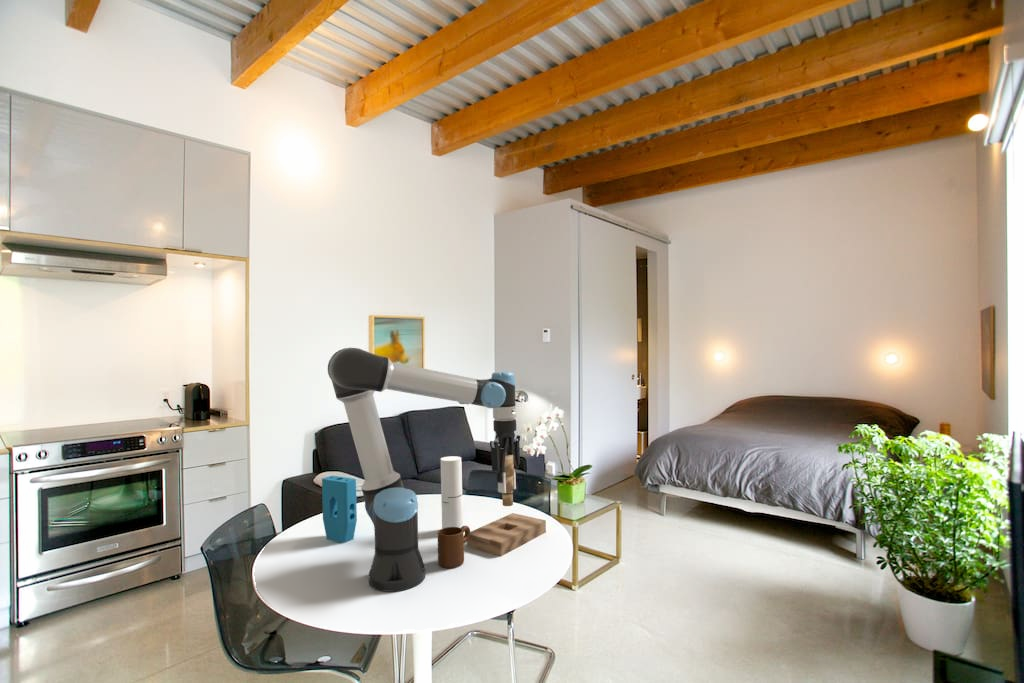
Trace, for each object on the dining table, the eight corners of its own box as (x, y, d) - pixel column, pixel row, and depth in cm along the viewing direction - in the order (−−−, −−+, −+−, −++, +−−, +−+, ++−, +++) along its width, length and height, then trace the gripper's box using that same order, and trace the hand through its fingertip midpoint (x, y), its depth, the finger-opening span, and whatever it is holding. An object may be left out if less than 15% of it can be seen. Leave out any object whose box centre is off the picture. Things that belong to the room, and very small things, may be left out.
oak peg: (509, 507, 166) (507, 457, 166) (497, 505, 169) (496, 456, 169) (517, 503, 169) (515, 455, 170) (506, 501, 172) (505, 453, 172)
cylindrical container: (461, 535, 173) (460, 460, 174) (440, 535, 174) (438, 461, 174) (464, 527, 181) (462, 456, 181) (443, 528, 181) (442, 456, 181)
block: (321, 538, 174) (320, 478, 174) (333, 533, 178) (332, 475, 178) (346, 544, 168) (345, 482, 168) (358, 539, 172) (357, 479, 172)
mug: (460, 551, 160) (459, 520, 160) (479, 556, 155) (478, 525, 155) (432, 564, 150) (431, 532, 150) (451, 571, 146) (450, 537, 146)
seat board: (501, 556, 155) (501, 542, 155) (466, 546, 164) (466, 533, 164) (545, 532, 174) (545, 520, 174) (512, 524, 183) (512, 513, 183)
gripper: (496, 423, 160) (499, 499, 160) (529, 416, 174) (531, 485, 174) (478, 422, 165) (480, 495, 164) (511, 415, 179) (514, 482, 178)
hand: (507, 490), depth 169 cm, fingers closed on oak peg, 4 cm apart
